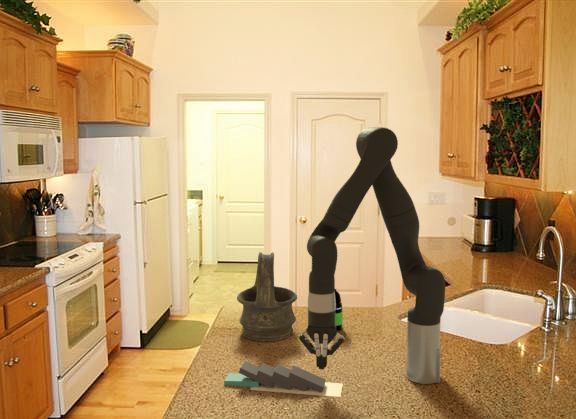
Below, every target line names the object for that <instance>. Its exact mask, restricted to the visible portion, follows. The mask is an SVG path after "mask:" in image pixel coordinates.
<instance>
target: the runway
mask: <svg viewBox="0 0 576 419" xmlns="http://www.w3.org/2000/svg"><path fill="white" fill-rule="evenodd" d="M343 386H344V383H341V382H340V383H339V382H338V383H337V382H329V381H327V382H326V381H325V385H324V389H323V391H322V392H319V391H317V390H315V389H313V388H310V387H307V389H306V391H304V390H301V389H299V388H297V387H295V386H291V388H290V390H288V389H286V388H284V387H281V386H279V385H277V384H275V383H273V385H272V387H271V388H270V387H268V386H266V385H264V384H262V383H261V384H260V385H259V387H250V389H249V391H262V392H272V393H273V392H275V393H286V394H299V395H310V396H322V397H323V396H324V397H325V396H326V397H337V398H341V397H342V390H343Z"/></svg>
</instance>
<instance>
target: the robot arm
mask: <svg viewBox="0 0 576 419" xmlns="http://www.w3.org/2000/svg"><path fill="white" fill-rule="evenodd" d="M398 141H399V140H398V137H397V135H396V133H395V132H394V131H393V130H391V128H387V127H381V126H380V127H379V126H378V127H367V128H364V129H362V130H361V131H360V132H359V134H357V137H356V141H355V147H356V151H357V154H358V157H359V159H360V160H359V162H358V164H357V167H356V168H355V169H354V171H353V172H352V174H351V175H350V177H349V178H348V179H347V180H346V181H345V183H344V184H343V185H342V186H341V188H339V190H337V193H336V194H335V196H334V197H333V198H332V201H331V203H330V204H329V206H328V208H327V210H326V212H325V214H324V216H323V218H322V219H321V221H320V222H319V223H318V224H317V225H316V227H315V228H314V229H313V231H312V232H311V234H310V236H309V237H308V240H307V243H306V251H307V252H308V255H310V257H311V271H310V272H309V276H308V296H307V318H308V319H307V328H306V329H305V331H304V332H301V333H300V334H299V337H298V339H299V340H300V342H301V343H302V344H303V346H304V347H305V348H306V350H307V351H308V352H309V353H310V354H311V355H314V356H315V357H316V358H315V359H316V364H315V365H316V368H318V370H325V368H327V366H328V356H333V355H334V354H335V352H337V350H339V348H340V346H342V344H343V343H344V341H345V339H346V338H345V335H344V334H343V335H341V334H340V333H339V331H337V328H336V299H335V289H336V288H335V287H336V286H335V284H336V283H335V281H336V280H335V274H336V269H337V268H336V267H337V262H338V245H337V244H336V240H337V239H338V237H339V236H340V234H341V233H344V232H345V231H346V230H347V229H348V227H349V226H350V224H351V222H352V220H353V218H354V217H355V215H356V212H357V211H358V209H359V208H360V206H361V204H362V202H363V200H364V198H365V196H366V194H367V193H368V192H369V191H370V189H371V187H372V189H373V191H374V194H375V198H376V200H377V204H378V206H379V210H380V214H381V216H382V219H383V222H384V225H385V228H386V230H387V232H388V236H389V238H390V242H391V243H392V246H393V247H392V248H393V249H394V251H395V254H396V259H397V262H398V266H399V270H400V275H401V278H402V282H403V285H404V287H405V289H406V290H407V291H408V292H409V293H410V294H412V295H414V296H415V302H414V306H412V307H411V308H409V309H408V311H407V321H406V322H407V323H406V324H407V325H406V331H407V332H406V378H407V379H408V380H409V381H411V382H414V383H416V384H419V385H420V384H421V385H431V384H437V383H441V354H442V353H441V348H440V347H441V344H440V343H441V320H442V319H441V317H442V315H443V313H444V309H445V298H446V296H445V295H446V278H445V277H444V276H445V275H443V273H442V272H441V271H440V270H439V269H437V268H435V267H432V266H429V265H427V264H426V262H425V260H424V258H423V255H422V252H421V250H420V246H419V235H420V220H419V215H418V212H417V210H416V206H415V203H414V201H413V198H412V197H411V195H410V194H409V192H408V190H407V189H406V187H405V186H404V184H403V183H402V181H401V180H400V179H399V177H398V176H397V174H396V171H395V170H394V167H393V164H392V163H393V162H392V161H391V160H392V158H393V157H394V155H395V154H396V152H397V151H398V150H397V149H398V144H399V143H398ZM309 338H310V339H311V341H312V342H313V343H314V344H313V343H312V342H311V341H310V339H309ZM333 340H334V341H335V342H334V343H333V344H332V345H331V346H330V348H329V344H330V343H331V342H332V341H333Z"/></svg>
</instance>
